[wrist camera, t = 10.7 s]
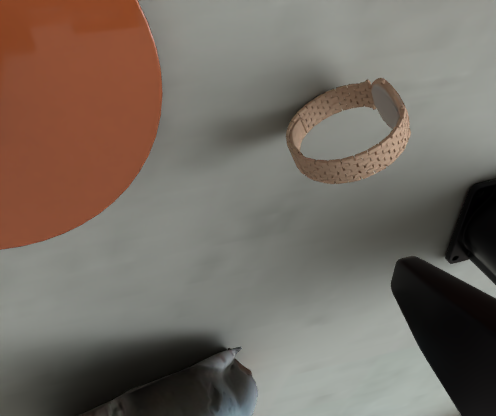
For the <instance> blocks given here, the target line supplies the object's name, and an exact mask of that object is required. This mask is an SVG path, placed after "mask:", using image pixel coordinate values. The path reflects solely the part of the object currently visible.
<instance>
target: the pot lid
mask: <svg viewBox="0 0 496 416" xmlns="http://www.w3.org/2000/svg"><path fill="white" fill-rule="evenodd" d="M161 105H162V79H161V68H160V63H159V58H158V53H157V48H156V45H155V42H154V39H153V36H152V33H151V30H150V27H149V24H148V21H147V19H146V17H145V15H144V13H143V11H142V9H141V7H140V5H139V3H138V0H0V250H2V249H8V248H15V247H21V246H25V245H29V244H33V243H37V242H41V241H44V240H47V239H50V238H53V237H55V236H58V235H61V234H64V233H66V232H68V231H70V230H72V229H74V228H76V227H78V226H80V225H82V224H84V223H85V222H87V221H88V220H90V219H92V218H93V217H95V216H96V215H98V214H99V213H101V212H102V211H103V210H104V209H106V208H107V207H108V206H109V205H111V204H112V203H113V202H114V201H115V200H116V199H117V198H118V197H119V196H120V195H121V194H122V193H123V192H124V191H125V190H126V189H127V188H128V187H129V185H130V184H131V183H132V181H133V180H134V178H135V177H136V176H137V174H138V173H139V172H140V170H141V168H142V166H143V164H144V163H145V161H146V159H147V157H148V155H149V153H150V151H151V148H152V145H153V143H154V140H155V137H156V134H157V130H158V125H159V121H160V116H161Z"/></svg>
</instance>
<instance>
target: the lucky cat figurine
mask: <svg viewBox="0 0 496 416" xmlns="http://www.w3.org/2000/svg"><path fill="white" fill-rule="evenodd" d="M241 349H242V348H241V347H237V348H234V349H230V348H228V350H227V351H223V352H220V353H217V354H215V355H213V356H211V357H209V358H207V359H205V360H203V361H201V362H199V363H197V364H195V365H193V366H191V367H189V368H186V369H184V370H181V371H179V372H176V373H174V374H171V375H168V376H166V377H163V378H161V379H158V380H155V381H152V382H149V383H147V384H144V385H141V386H138V387H135V388H132V389H130V390H127V391H126V392H125V393H124V394H122V395H120V396H118V397H116V398H115V399H113V400H112V401H109V402H107V403H105V404H102V405H100V406H98V407H96V408H93V409H91V410H89V411H87V412H85V413H83V414H81V415H77V416H252V415H253V412H254V409H255V405H256V402H257V397H258V390H257V386H256V382H255V380H254V379H253V377H252V373H251V371H250V370H249V369H247V368H246V367H244V366H243V365H242V364H240V363H239V362H238V361H237V360H236V359H235V358H234V357H235V355H236V354H237V352H239V351H240V350H241Z"/></svg>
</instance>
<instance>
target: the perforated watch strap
mask: <svg viewBox="0 0 496 416" xmlns="http://www.w3.org/2000/svg"><path fill="white" fill-rule="evenodd" d="M347 86H348V88H347ZM347 86H346V85H345V86H341V87H337V88H336V90H335V89H332V90H330V91H327V92H325V95H324V94H321V95H319V96H318V97H316V98H314V99H315V101H314V99H313V100H312V101H310V102H309V103H307V104H306V105H305V106H304V107H303V108H301V109H300V110H299V111H298V112H297V114H296V115H295V116H294V117H293V118H292V120H291V122H290V123H289V126H288V128H287V131H286V139H287V145H288V148H289V150H290V152H291V155H292V157H293V159H294V161H295V164H296V166H297V168H298V169H299V170H300V172H301V173H302V174H305V176H307V177H308V178H310V179H312V180H314V181H319V182H323V183H329V184H335V183H336V184H341V183H348V181H349V183H350V182H354V181H358V180H361V177H362V178H363V179H365V178H367V177H369V176H371V175H374V172H375V174H376V173H378V172H379V171H381V170H383V169H385V168H386V166H389V165H390V164H392V163H393V162H394V161H395V160H396V158H398V157H399V155H400V154H401V153H402V152H403V151H404V149H405V147H406V145H407V142H408V139H409V137H410V135H411V131H410V128H409V125H410V123H409V116H408V112H407V110H406V108H405V105H404V103H403V101H402V99H401V98H400V96H399V94H398V93H397V91H396V90H395V89H394V88H393V86H392V85H391V84H390V83H388V82H387V81H386V80H385V79H384V78H378V79H376V80H375V81H374V82H373V83H372V86H371V83H370V81H369V80H368V79H367V80H366V81H365V82H361V83H360V84H349V85H347ZM342 91H343V92H342ZM349 93H350V94H349ZM331 96H332V97H331ZM344 97H345V99H344ZM339 102H340V103H339ZM364 106H365V107H370V108H373V110H374V109H376V108H377V110H378V112H379V114H380V115H381V117H382V119H383V120H384V121H385V122H386V123H387V125H388V126H389V127H391V128H392V129H393V130H392V131H391V133H390V134H389V135H388V136H387V137H386V138H384V139H383V140H382V141H381V142H380V143H379V144H376V145H374V146H373V147H371V148H369V149H368V152H369V153H368V152H367V150H366V151H364V152H361V153H359V154H356V155H355V158H354V156H350V157H347V158H343V159H341V160H340V159H336V160H329V161H327V160H315V159H311V158H306V157H304V156H303V154H302V153H301V152H300V145H301V142H302V140H303V138H304V137H305V136H306V133H308V132H309V131H310V130H311V129H312V128H313V126H316V125H317V124H318V123H320V122H321V121H322V120H324V119H326V118H327V117H329V116H331V115H333V114H336V113H338V112H341V111H342V110H347V109H351V108H353V107H354V108H356V107H364ZM335 107H336V109H335ZM341 108H342V109H341ZM331 113H332V114H331ZM321 118H322V119H321ZM362 158H363V159H362ZM364 165H365V166H364ZM343 167H344V168H343ZM358 170H359V171H358ZM366 171H367V172H366ZM373 171H374V172H373ZM353 175H354V176H353Z"/></svg>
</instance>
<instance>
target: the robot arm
mask: <svg viewBox="0 0 496 416" xmlns="http://www.w3.org/2000/svg"><path fill="white" fill-rule="evenodd" d="M445 259H446V260H447V261H448V262H449V263H450V264H453V263H457V262H461V261H465V260H468V259H470V260H471V261H472V262H473V263H474V264H475V265H476V266H477V267H478V268H479V269H480V270H481V271H482V272H483V273H484V274H485V275H486V276H487V277H488V278H489V279H490V280H491V281H492V282H493V283H494V284H495V285H496V179H495V180H491V181H486V182H482V183H477V184H475V185H473V186H472V187H471V188H470V190H469V192H468V194H467V197H466V200H465V203H464V205H463V208H462V211H461V214H460V217H459V219H458V222H457V225H456V228H455V231H454V233H453V236H452V239H451V242H450V245H449V248H448V250H447V253H446V256H445ZM391 289H392V292H393V295H394V297H395V299H396V301H397V303H398V305H399V307H400V309H401V311H402V313H403V315H404V317H405V319H406V321H407V324H408V326H409V328H410V330H411V332H412V334H413V336H414V338H415V340H416V342H417V344H418V346H419V348H420V349H421V351H422V353H423V354H424V356H425V358H426V359H427V361H428V363H429V364H430V366H431V368H432V369H433V371H434V372H435V374H436V376H437V377H438V379H439V380H440V382H441V384H442V385H443V387H444V388H445V390H446V392H447V393H448V395H449V396H450V398H451V400H452V401H453V403H454V404H455V406H456V408H457V409H458V411H459V412H460V414H461V416H496V298H494V297H492V296H490V295H488V294H486V293H484V292H482V291H481V290H479V289H477V288H475V287H473V286H471V285H469V284H467V283H466V282H464V281H462V280H460V279H458V278H456V277H454V276H452V275H450V274H449V273H447V272H445V271H443V270H441V269H439V268H437V267H435V266H433V265H432V264H430V263H428V262H426V261H424V260H422V259H420V258H418V257H416V256H409V257H405V258H401V259H398V261H397V262H396V264H395V268H394V272H393V276H392V280H391Z"/></svg>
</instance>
